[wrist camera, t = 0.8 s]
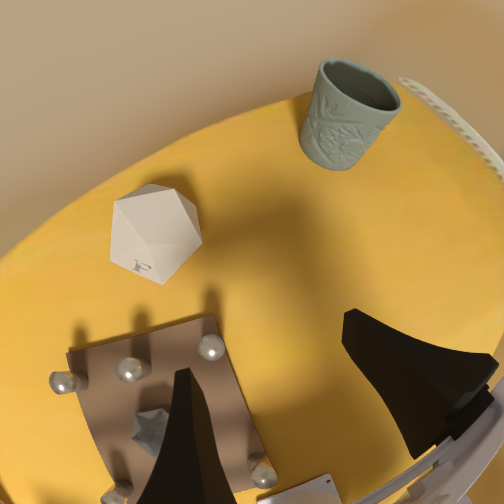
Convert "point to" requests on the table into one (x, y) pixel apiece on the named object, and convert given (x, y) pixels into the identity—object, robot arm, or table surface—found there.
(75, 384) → the standoffs
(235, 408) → the standoff plate
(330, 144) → the embossed plant pot
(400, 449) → the table surface
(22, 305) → the table surface
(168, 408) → the silver short hexagonal block
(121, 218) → the die
